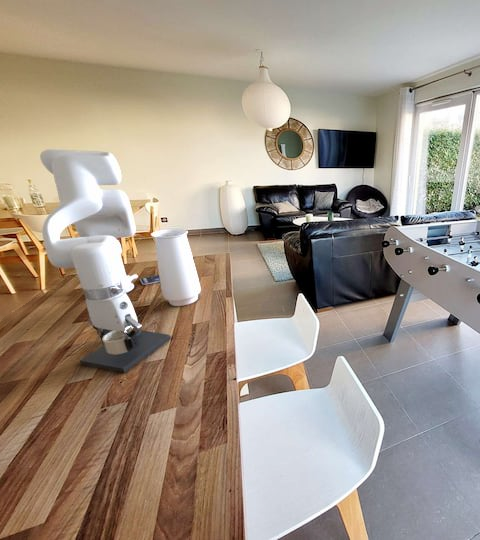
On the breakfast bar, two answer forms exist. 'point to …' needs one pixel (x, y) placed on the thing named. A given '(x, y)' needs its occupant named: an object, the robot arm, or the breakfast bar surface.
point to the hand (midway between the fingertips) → (121, 345)
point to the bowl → (115, 342)
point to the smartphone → (150, 280)
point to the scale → (126, 353)
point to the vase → (176, 267)
